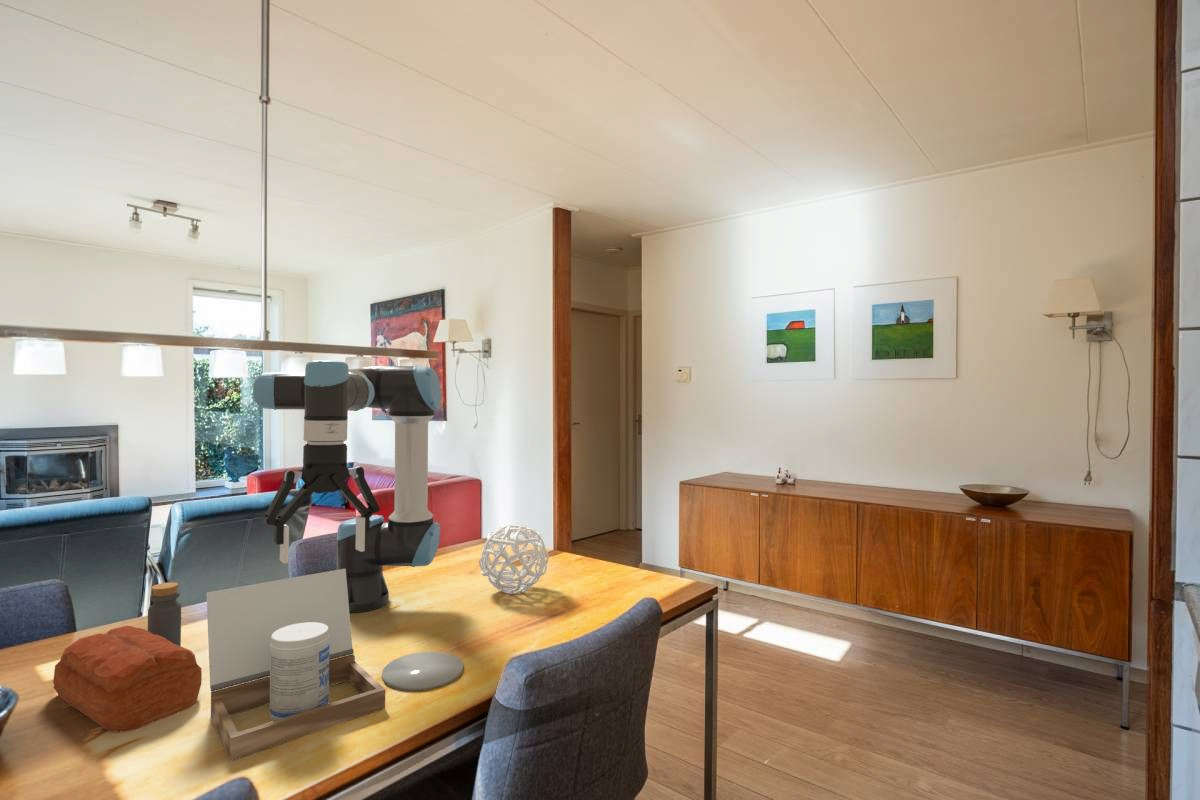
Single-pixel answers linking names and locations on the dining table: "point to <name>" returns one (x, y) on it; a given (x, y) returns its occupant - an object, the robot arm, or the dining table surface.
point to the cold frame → (293, 725)
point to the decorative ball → (513, 558)
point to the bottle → (165, 612)
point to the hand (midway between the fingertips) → (323, 555)
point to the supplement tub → (299, 669)
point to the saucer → (422, 671)
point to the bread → (127, 678)
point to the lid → (272, 622)
